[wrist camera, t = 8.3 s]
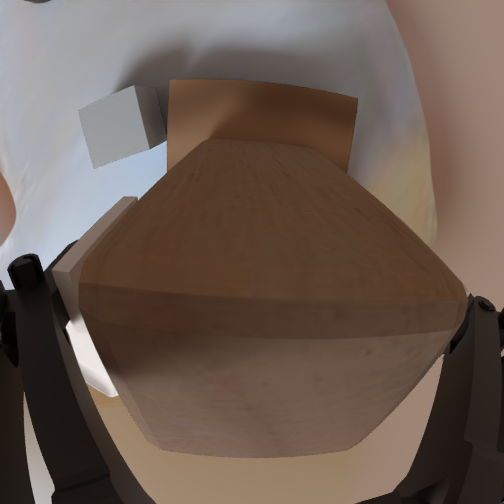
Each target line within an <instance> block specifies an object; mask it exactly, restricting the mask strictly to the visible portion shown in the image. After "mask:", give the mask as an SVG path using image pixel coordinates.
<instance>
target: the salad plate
mask: <svg viewBox="0 0 504 504" xmlns="http://www.w3.org/2000/svg"><path fill="white" fill-rule="evenodd" d="M66 329H67V331H68V333H69V337H70V340H71V343H72V346H73V349H74V352H75V355H76V358H77V361H78V364H79V367H80V369H81V372H82V375H83V377H84V380H85V382H86V383H88V384H89V385H91V386H92V387H94V388H96V389H97V390H99V391H100V392H102V393H104V394H105V395H107V396H109V397H114V396H117V395H118V393H117V391H116V389H115V387H114V385H113V384H112V382H111V380H110V378H109V376H108V374H107V372H106V370H105V368H104V366H103V364H102V362H101V360H100V358H99V355H98V353H97V351H96V349H95V347H94V344H93V342H92V340H91V337H90V335H89V334H85V333H80V332H76V331H75V330H74V328H73V326H72V324H71V321H69V322H68V324H67V326H66Z"/></svg>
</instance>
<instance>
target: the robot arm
mask: <svg viewBox="0 0 504 504" xmlns="http://www.w3.org/2000/svg"><path fill="white" fill-rule="evenodd" d="M25 1H28V2H33V3H44V2H47V1H50V0H25ZM137 201H138V198H137V197H125V196H124V197H123V198H122V199H121V200H119V201H118V202H117V203H116V204H115V205H114V206H113V207H112V208H111V209H110V210H109V211H107V212H106V213H105V214H104V215H103V216H102V217H101V218H100V219H99V220H98V221H97V222H96V223H95V224H94V225H93V226H92V227H91V228H90V229H89V230H88V231H87V232H86V233H85V234H84V235H83V236H82V237H81V238H80V239H79V240H76V241H74V242H72V243H71V244H69V245H68V246H67V247H66V248H65V249H64V250H63V251H62V253H60V254H59V255H58V256H57V259H55V260H54V261H53V262H52V263H51V264H50V265H49V266H48V267H47V269H46V270H45V271H44V272H43V269H42V266H41V262H40V259H39V257H38V255H36V254H26V255H22V256H20V257H18V258H16V259H15V260H14V261H12V263H11V264H10V265H9V266H8V269H7V271H8V273H9V276H10V278H11V281H12V283H13V286H14V288H15V289H13V290H5V288H4V286H3V284H2V282H1V280H0V504H35V500H34V496H33V492H32V487H31V482H30V476H29V470H28V463H27V456H26V446H25V435H24V410H23V400H24V399H23V398H24V392H25V396H26V401H27V405H28V410H29V413H30V417H31V421H32V425H33V428H34V432H35V435H36V438H37V441H38V444H39V447H40V450H41V453H42V456H43V458H44V461H45V464H46V466H47V469H48V471H49V474H50V476H51V478H52V480H53V483H54V487H55V491H54V493H53V494H52V496H51V498H52V504H156V503H155V502H154V501H153V500H152V498H151V497H149V496H148V494H147V493H146V492H145V491H144V489H143V488H142V487H141V485H140V484H139V482H138V481H137V479H136V478H135V476H134V475H133V473H132V472H131V470H130V469H129V467H128V466H127V464H126V462H125V461H124V459H123V457H122V456H121V454H120V452H119V451H118V449H117V447H116V445H115V444H114V442H113V440H112V438H111V436H110V434H109V433H108V430H107V428H106V427H105V425H104V423H103V421H102V419H101V416H100V414H99V412H98V410H97V408H96V406H95V404H94V401H93V399H92V397H91V394H90V392H89V390H88V387H87V385H86V382H85V380H84V377H83V375H82V372H81V369H80V367H79V364H78V361H77V358H76V355H75V352H74V349H73V346H72V343H71V340H70V337H69V333H68V331H67V329H66V326H67V324H68V322H69V321H71V324H72V326H73V328H74V330H75V331H76V332H80V333H85V334H89V333H88V330H87V328H86V325H85V323H84V320H83V318H82V315H81V312H80V310H79V307H78V286H79V279H80V275H81V271H82V267H83V264H84V261H85V260H86V258H87V257H88V256H89V255H90V254H91V252H92V251H93V250H94V249H95V248H96V246H97V245H98V244H99V243H100V242H101V241H102V239H103V238H104V237H105V236H106V235H107V234H108V233H109V231H110V230H111V229H112V228H113V227H114V226H115V225H116V224H117V223H118V222H119V220H120V219H121V218H122V217H123V216H124V215H125V214H126V213H127V212H128V211H129V210H130V209H131V208H132V207H133V206H134V205H135V204H136V203H137ZM399 219H400V218H399ZM400 220H401V219H400ZM401 221H402V220H401ZM406 225H407V224H406ZM407 226H408V225H407ZM408 227H409V226H408ZM409 228H410V227H409ZM410 229H411V228H410ZM411 230H412V229H411ZM412 231H413V230H412ZM413 232H414V231H413ZM414 233H415V232H414ZM415 234H416V233H415ZM416 235H417V234H416ZM417 236H418V235H417ZM418 237H419V236H418ZM419 238H420V237H419ZM420 239H421V238H420ZM421 240H422V239H421ZM422 241H423V240H422ZM423 242H424V241H423ZM424 243H425V242H424ZM425 244H426V243H425ZM426 245H427V244H426ZM427 246H428V245H427ZM428 247H429V246H428ZM429 248H430V247H429ZM430 249H431V248H430ZM431 250H432V249H431ZM432 251H433V250H432ZM433 252H434V251H433ZM434 253H435V252H434ZM435 254H436V253H435ZM436 255H437V254H436ZM437 256H438V255H437ZM438 257H439V256H438ZM439 258H440V257H439ZM440 259H441V258H440ZM441 260H442V259H441ZM447 267H448V266H447ZM448 268H449V267H448ZM449 269H450V268H449ZM450 270H451V269H450ZM451 271H452V270H451ZM452 272H453V271H452ZM453 273H454V272H453ZM454 274H455V273H454ZM457 278H458V277H457ZM458 279H459V278H458ZM459 280H460V279H459ZM460 281H461V280H460ZM461 282H462V281H461ZM463 286H464V289H465V291H466V294H467V297H468V300H469V301H468V305H467V309H466V314H465V317H464V321H463V322H462V324H461V325H460V327H459V329H458V330H457V332H456V333H455V335H454V336H453V338H452V339H451V341H450V342H449V343H448V345H447V346H446V348H445V349H444V351H443V352H442V353H441V355H442V354H444V357H443V365H442V369H441V374H440V379H439V383H438V388H437V391H436V396H435V399H434V403H433V406H432V410H431V413H430V417H429V420H428V423H427V426H426V429H425V432H424V435H423V438H422V440H421V443H420V446H419V449H418V451H417V454H416V456H415V459H414V461H413V463H412V466H411V468H410V470H409V472H408V474H407V476H406V477H405V478H404V479H403V480H402V482H400V484H399V485H397V487H396V488H395V489H394V490H393V492H391V493H388V494H385V495H382V496H379V497H376V498H372V499H369V500H365V501H362V502H359V503H356V504H504V356H503V357H501V352H502V351H503V349H504V308H503V309H502V311H501V312H497V311H496V309H495V307H494V305H493V304H492V303H491V302H490V301H489V300H487V299H485V298H483V297H481V296H476V297H475V298H474V297H473V296H472V294H471V293H470V291H469V290H468V288H467V287H466V286H465V285H464V284H463ZM441 355H440V356H441ZM440 356H439V357H440Z"/></svg>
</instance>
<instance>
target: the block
mask: <svg viewBox="0 0 504 504" xmlns="http://www.w3.org/2000/svg"><path fill="white" fill-rule="evenodd" d="M468 301H469V300H468V297H467V294H466V291H465V289H464V286H463V283H462V282H461V281H460V280H459V279H458V278H457V276H456V275H455V274H454V273H453V272H452V271H451V270H450V269H449V268H448V267H447V265H446V264H445V263H444V262H443V261H442V260H441V259H440V258H439V257H438V256H437V255H436V254H435V253H434V252H433V251H432V250H431V249H430V248H429V247H428V246H427V245H426V244H425V243H424V242H423V241H422V240H421V239H420V238H419V237H418V236H417V235H416V234H415V233H414V232H413V231H412V230H411V229H410V228H409V227H408V226H407V225H406V224H405V223H404V222H403V221H401V220H400V219H399V218H398V217H397V216H396V215H395V214H394V213H393V212H392V211H390V210H389V209H388V208H387V207H386V206H385V205H384V204H382V203H381V202H380V201H379V200H378V199H377V198H375V197H374V196H373V195H372V194H371V193H369V192H368V191H367V190H366V189H365V188H363V187H362V186H361V185H360V184H358V183H357V182H356V181H355V180H353V179H352V178H351V177H350V176H348V175H347V174H346V173H345V172H343V171H342V170H341V169H339V168H338V167H337V166H335V165H334V164H333V163H331V162H330V161H329V160H327V159H326V158H325V157H323V156H322V155H320V154H319V153H318V152H316V151H314V150H313V149H311V148H309V147H302V146H295V145H287V144H278V143H269V142H259V141H248V140H234V139H216V138H210V139H208V140H205V141H202V142H201V143H200V144H199V145H197V146H196V147H195V148H194V149H193V150H192V151H190V152H189V153H188V154H187V155H186V156H185V157H184V158H183V159H181V160H180V161H179V162H178V163H177V164H176V165H175V166H174V167H173V168H172V169H170V170H169V171H168V172H167V173H166V174H165V175H164V176H163V177H162V178H161V179H160V180H159V181H158V182H157V183H156V184H155V185H154V186H153V187H151V188H150V189H149V190H148V191H147V192H146V193H145V194H144V195H143V196H142V197H141V198H140V199H139V200H138V201H137V203H136V204H135V205H134V206H133V207H132V208H131V209H130V210H129V211H128V212H127V213H126V214H125V215H124V216H123V217H122V218H121V219H120V220H119V222H118V223H117V224H116V225H115V226H114V227H113V228H112V229H111V230H110V231H109V233H108V234H107V235H106V236H105V237H104V238H103V239H102V241H101V242H100V243H99V244H98V245H97V246H96V248H95V249H94V250H93V251H92V252H91V254H90V255H89V256H88V257H87V258H86V260H85V261H84V264H83V267H82V271H81V275H80V279H79V286H78V307H79V310H80V312H81V315H82V318H83V320H84V323H85V325H86V328H87V330H88V333H89V335H90V337H91V340H92V342H93V344H94V347H95V349H96V351H97V353H98V355H99V358H100V360H101V362H102V364H103V366H104V368H105V370H106V372H107V374H108V376H109V378H110V380H111V382H112V384H113V385H114V387H115V389H116V391H117V393H118V395H119V396H120V398H121V400H122V402H123V403H124V405H125V407H126V408H127V410H128V412H129V413H130V415H131V416H132V418H133V420H134V421H135V423H136V425H137V426H138V428H139V429H140V431H141V432H142V434H143V435H144V437H145V438H146V440H147V441H148V442H150V443H151V444H153V445H155V446H157V447H158V448H160V449H162V450H166V451H172V452H179V453H187V454H194V455H205V456H216V457H234V458H275V457H276V458H277V457H295V456H307V455H316V454H325V453H332V452H339V451H345V450H348V449H350V448H352V447H353V446H355V445H357V444H358V443H360V442H361V441H362V440H363V439H364V438H366V437H367V436H368V435H369V434H370V433H371V432H372V431H373V430H374V429H375V428H376V427H377V426H379V425H380V424H381V423H382V422H383V420H385V418H387V416H389V414H391V413H392V412H393V411H394V409H395V408H396V407H397V406H398V405H399V404H400V403H401V402H402V401H403V400H404V399H405V398H406V397H407V395H408V394H409V393H410V392H411V391H412V390H413V389H414V387H415V386H416V385H417V384H418V383H419V382H420V380H421V379H422V378H423V377H424V375H425V374H426V373H427V372H428V370H429V369H430V368H431V367H432V365H433V364H434V363H435V361H436V360H437V359H438V357H439V356H440V355H441V353H442V352H443V351H444V349H445V348H446V346H447V345H448V343H449V342H450V341H451V339H452V338H453V336H454V335H455V333H456V332H457V330H458V329H459V327H460V325H461V324H462V322H463V321H464V317H465V314H466V309H467V305H468Z"/></svg>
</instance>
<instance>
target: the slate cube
mask: <svg viewBox="0 0 504 504" xmlns="http://www.w3.org/2000/svg"><path fill="white" fill-rule="evenodd" d="M78 112H79V116H80V120H81V125H82V129H83V132H84V136H85V140H86V143H87V147H88V151H89V154H90V157H91V161H92V164H93V167H94V169H95V168H98V167H100V166H103V165H105V164H108V163H111V162H114V161H116V160H119V159H122V158H125V157H128V156H131V155H134V154H137V153H140V152H143V151H146V150H149V149H151V148H153V147H155V146H157V145H159V144H161V143H163V142H165V141H167V134H166V130H165V126H164V122H163V118H162V114H161V110H160V105H159V101H158V97H157V92H156V88H154V87H146V86H138V85H133V86H130V87H128V88H125V89H123V90H121V91H118V92H116V93H114V94H111V95H109V96H107V97H104V98H102V99H100V100H98V101H96V102H94V103H92V104H90V105H88V106H86V107H84V108H82V109H80V110H78Z"/></svg>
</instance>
